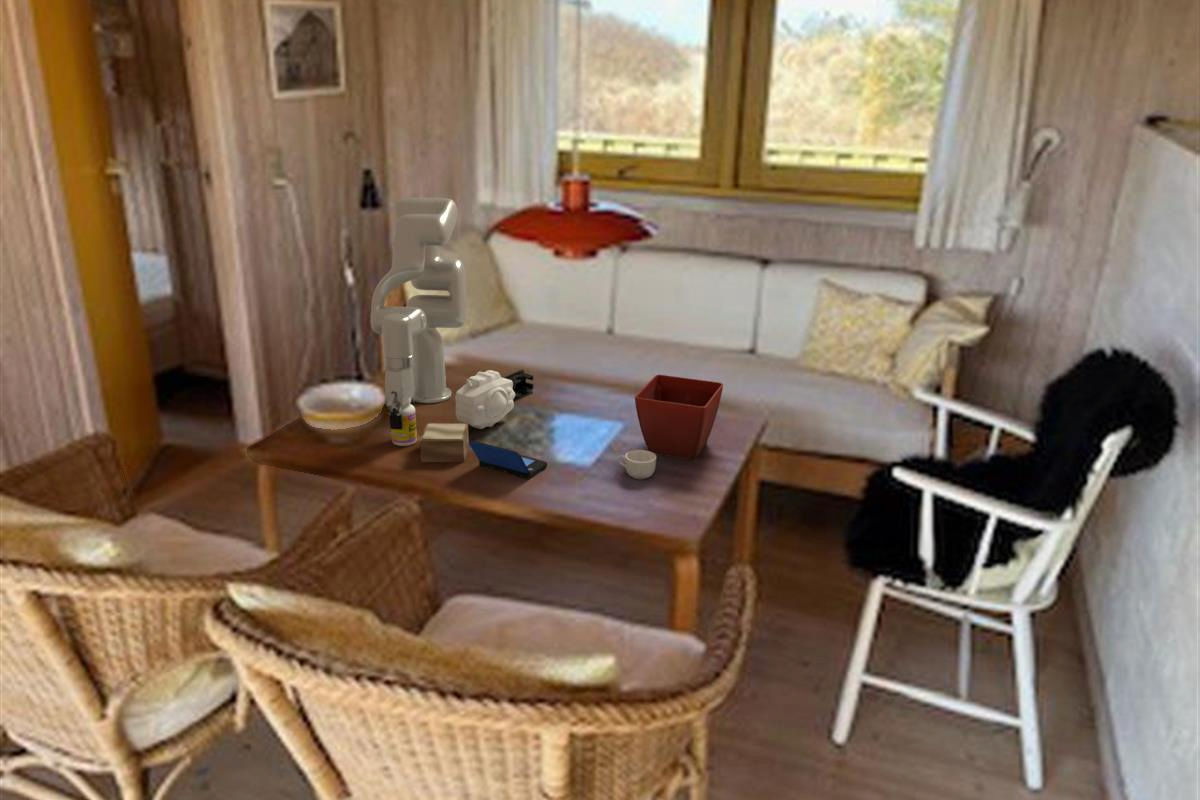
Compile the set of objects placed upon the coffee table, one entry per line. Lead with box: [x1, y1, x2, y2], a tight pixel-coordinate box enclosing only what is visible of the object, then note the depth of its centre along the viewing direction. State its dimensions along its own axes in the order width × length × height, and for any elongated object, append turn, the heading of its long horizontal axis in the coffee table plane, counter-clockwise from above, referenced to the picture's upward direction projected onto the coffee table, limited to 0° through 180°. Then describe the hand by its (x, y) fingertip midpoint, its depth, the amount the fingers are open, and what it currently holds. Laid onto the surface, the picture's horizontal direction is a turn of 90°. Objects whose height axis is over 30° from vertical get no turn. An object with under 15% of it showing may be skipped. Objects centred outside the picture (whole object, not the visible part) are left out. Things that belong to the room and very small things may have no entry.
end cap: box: [501, 369, 534, 402], centre depth 282 cm, size 10×7×7 cm
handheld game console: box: [469, 440, 548, 480], centre depth 233 cm, size 16×13×9 cm
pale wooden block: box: [419, 423, 470, 463], centre depth 242 cm, size 11×11×6 cm
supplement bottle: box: [390, 397, 418, 447], centre depth 247 cm, size 7×7×13 cm
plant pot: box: [634, 374, 724, 461], centre depth 245 cm, size 19×19×17 cm
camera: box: [454, 369, 515, 430], centre depth 258 cm, size 11×18×16 cm, turn 143°
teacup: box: [617, 449, 657, 480], centre depth 232 cm, size 10×8×5 cm
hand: (403, 422), depth 247 cm, fingers open, 9 cm apart
